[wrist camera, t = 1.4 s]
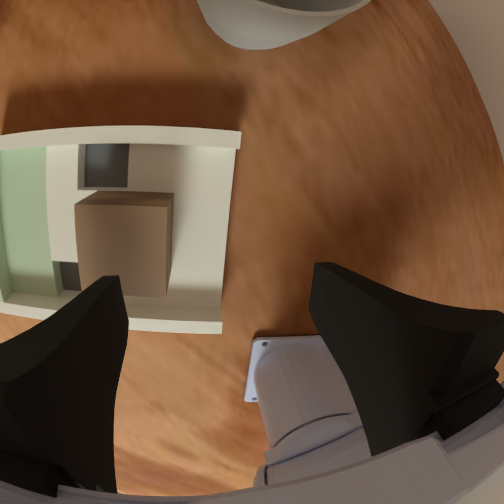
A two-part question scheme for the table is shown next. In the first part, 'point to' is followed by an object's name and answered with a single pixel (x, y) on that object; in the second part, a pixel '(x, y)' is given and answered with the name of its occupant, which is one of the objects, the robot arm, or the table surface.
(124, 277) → the block
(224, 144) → the tray
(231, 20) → the cup
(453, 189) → the table surface
